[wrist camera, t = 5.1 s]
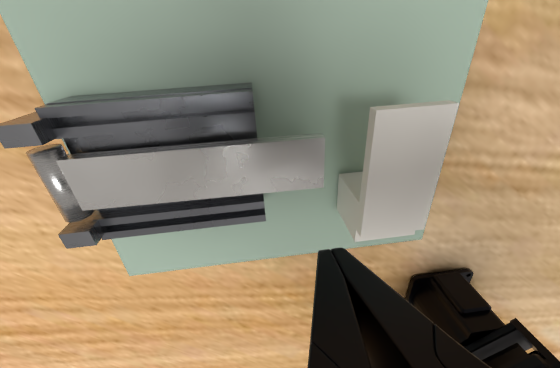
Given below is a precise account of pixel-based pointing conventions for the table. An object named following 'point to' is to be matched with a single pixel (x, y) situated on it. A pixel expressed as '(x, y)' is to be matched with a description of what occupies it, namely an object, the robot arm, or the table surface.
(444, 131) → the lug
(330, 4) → the board
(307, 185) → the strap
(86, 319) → the table surface
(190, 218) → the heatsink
